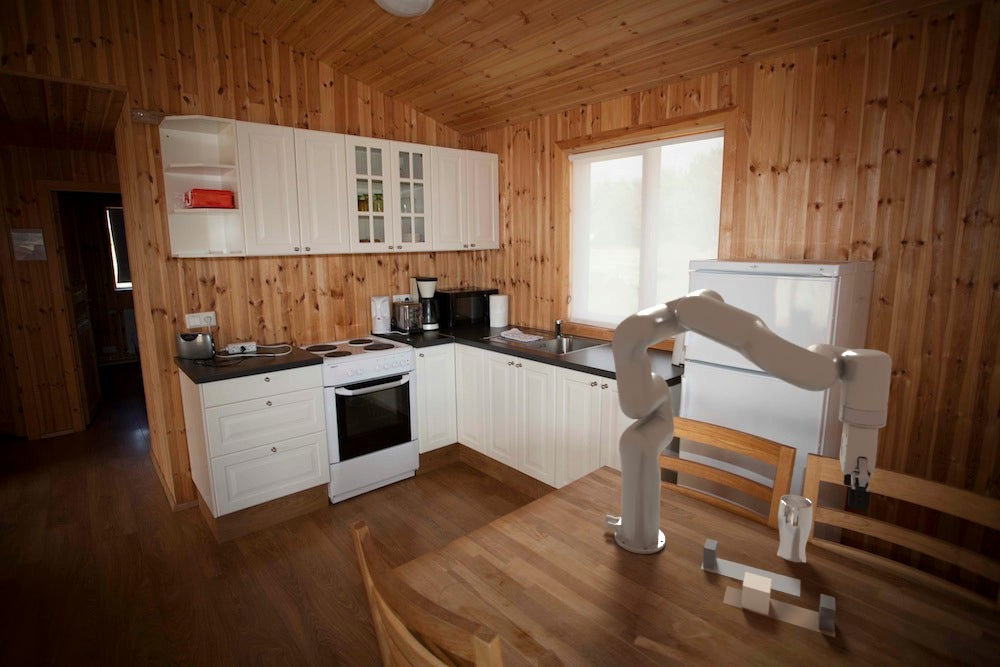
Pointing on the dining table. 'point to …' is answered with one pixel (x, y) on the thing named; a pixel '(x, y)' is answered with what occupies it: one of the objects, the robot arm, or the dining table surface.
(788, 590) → the grey strip
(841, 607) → the dining table surface
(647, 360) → the robot arm
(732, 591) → the brown long piece
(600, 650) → the dining table surface
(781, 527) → the beer glass
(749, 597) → the cream block
